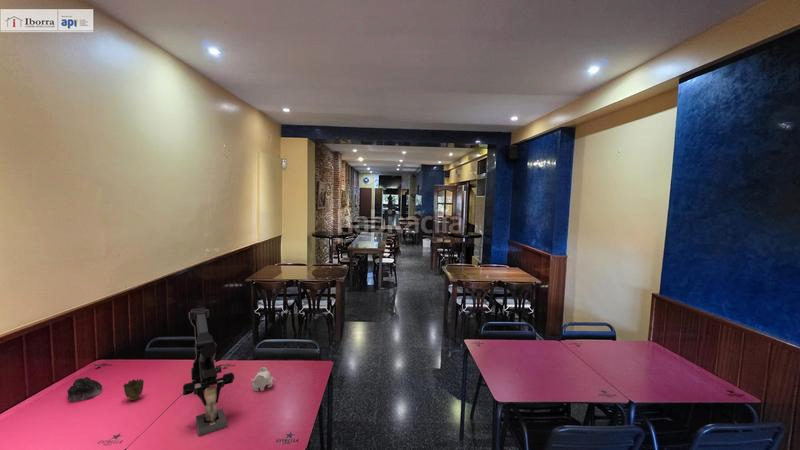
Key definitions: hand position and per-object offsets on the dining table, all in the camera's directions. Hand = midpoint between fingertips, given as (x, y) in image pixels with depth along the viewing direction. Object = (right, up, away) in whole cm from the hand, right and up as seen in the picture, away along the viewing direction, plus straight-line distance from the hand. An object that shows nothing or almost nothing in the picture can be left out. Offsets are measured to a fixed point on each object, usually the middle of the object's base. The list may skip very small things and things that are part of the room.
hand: (211, 404), depth 143 cm
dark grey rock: (-71, -7, +22) cm, 75 cm away
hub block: (-1, -9, +2) cm, 10 cm away
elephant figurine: (+9, -8, +31) cm, 33 cm away
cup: (-46, -8, +19) cm, 50 cm away
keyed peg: (-1, -6, +2) cm, 7 cm away
